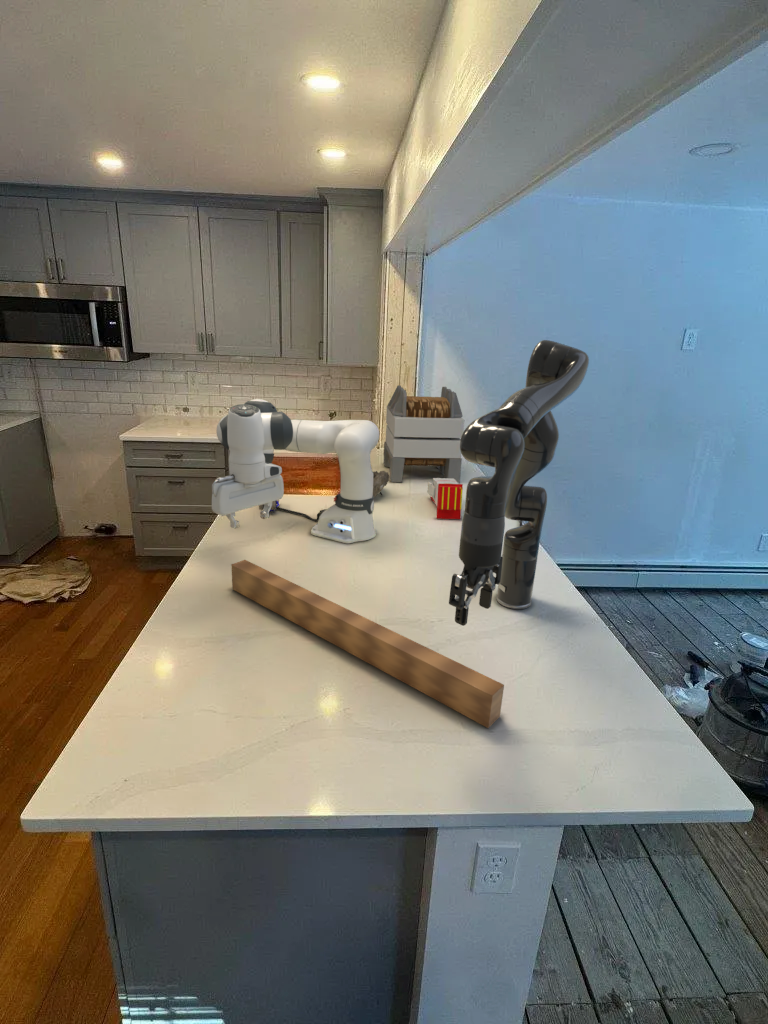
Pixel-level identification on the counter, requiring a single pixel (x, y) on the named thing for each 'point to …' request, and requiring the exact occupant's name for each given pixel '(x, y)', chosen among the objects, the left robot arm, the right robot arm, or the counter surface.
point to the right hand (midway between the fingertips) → (473, 614)
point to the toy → (446, 497)
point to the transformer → (423, 433)
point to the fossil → (379, 481)
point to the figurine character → (271, 507)
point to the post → (374, 644)
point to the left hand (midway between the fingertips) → (250, 522)
